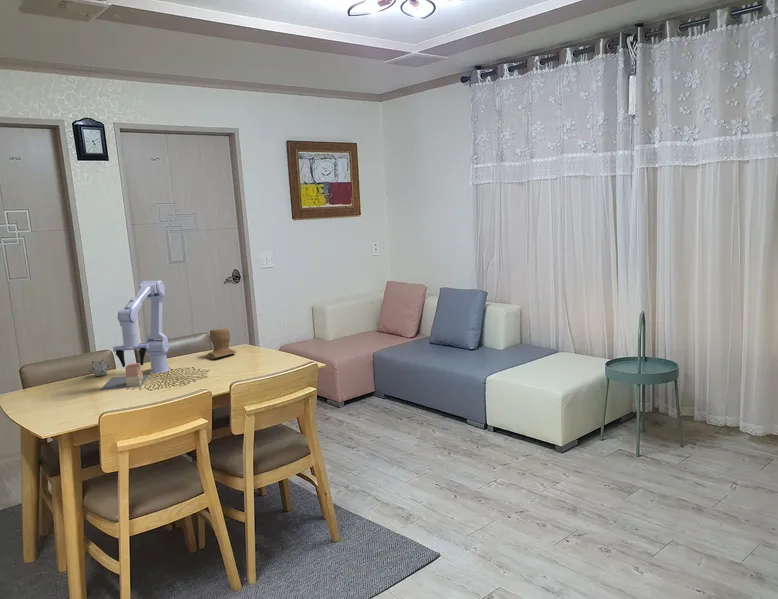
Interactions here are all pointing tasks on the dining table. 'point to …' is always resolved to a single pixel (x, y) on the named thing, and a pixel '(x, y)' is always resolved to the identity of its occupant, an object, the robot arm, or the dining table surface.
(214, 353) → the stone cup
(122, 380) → the mat
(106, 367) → the game die
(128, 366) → the terracotta block
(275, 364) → the dining table surface
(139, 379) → the maple block
